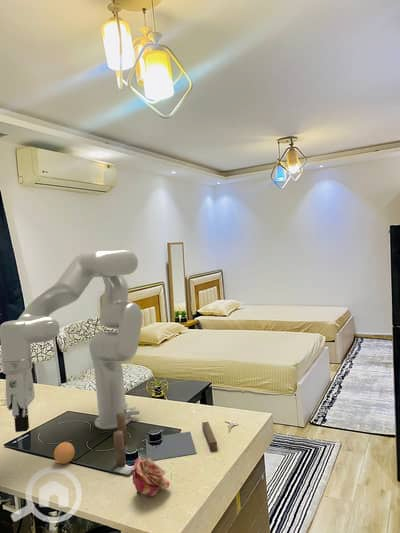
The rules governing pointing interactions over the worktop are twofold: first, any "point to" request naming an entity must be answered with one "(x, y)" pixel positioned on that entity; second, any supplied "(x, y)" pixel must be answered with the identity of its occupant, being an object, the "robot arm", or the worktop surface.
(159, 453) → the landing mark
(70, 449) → the ball
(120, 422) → the far post
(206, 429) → the brown wooden bar
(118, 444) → the near post
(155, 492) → the flower
